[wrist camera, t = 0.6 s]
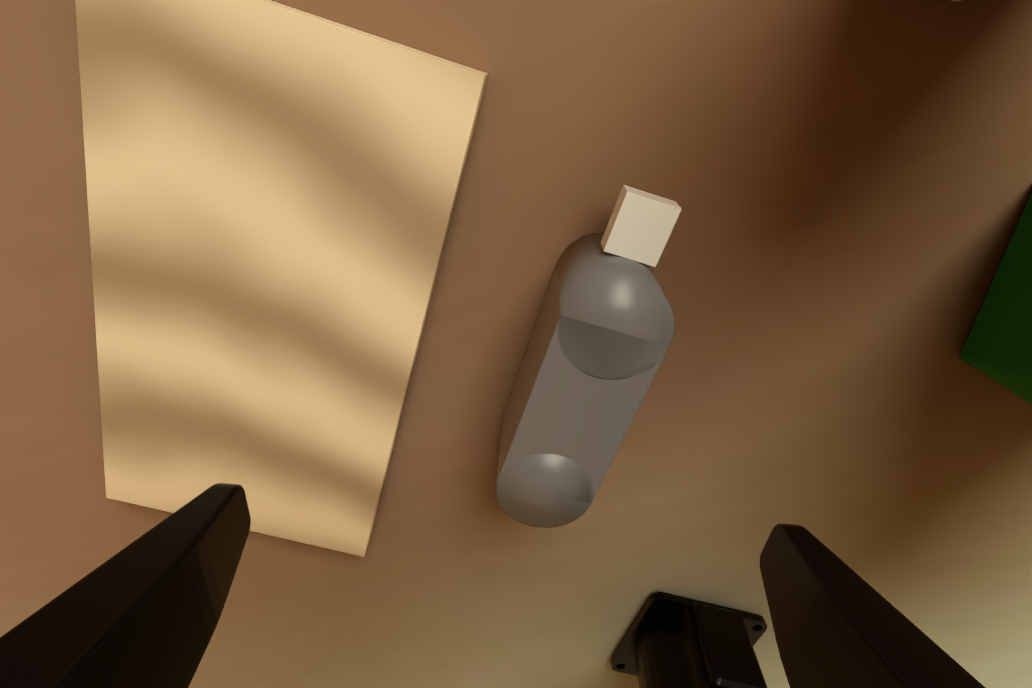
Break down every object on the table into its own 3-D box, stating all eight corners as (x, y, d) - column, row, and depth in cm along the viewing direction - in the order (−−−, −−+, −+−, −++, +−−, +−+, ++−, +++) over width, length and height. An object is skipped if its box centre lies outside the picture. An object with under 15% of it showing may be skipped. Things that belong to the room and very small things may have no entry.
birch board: (370, 537, 28) (364, 556, 27) (123, 479, 27) (106, 497, 26) (488, 73, 18) (484, 75, 17) (100, -57, 17) (70, -64, 16)
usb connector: (568, 461, 26) (574, 536, 22) (492, 441, 25) (484, 514, 21) (688, 196, 20) (725, 234, 16) (592, 165, 19) (606, 196, 16)
